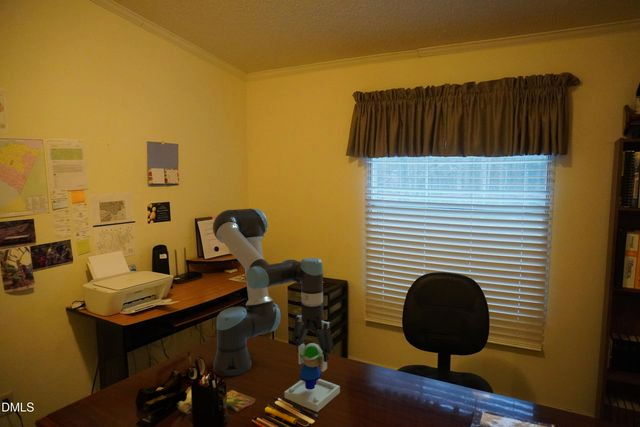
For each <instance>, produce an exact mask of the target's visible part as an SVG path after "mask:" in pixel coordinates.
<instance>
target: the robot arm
mask: <svg viewBox="0 0 640 427" xmlns="http://www.w3.org/2000/svg"><path fill="white" fill-rule="evenodd" d="M268 224H269V223H268V219H267V216H266V215H265V213H264V212H263V211H262V210H261V209H259V208H241V209H240V208H239V209H238V208H237V209H225V210H223V211H222V212H220V213H219V214H217V215H216V217H215V219H214V221H213V224H212V232H213V235H214V236H215V238H216V239H217V241H218V242H219V243H222V244H224V245H225V246H226V247H227V248H228V250H229V251H230V253H231V254H232V255H233V256H234V258H236V260H237V261H238V263H240V265H241V266H242V267H243V268H244V275H245V281H246V290H247V297H248V300H247V301H246V303H245V307H244V306H232V307H228V308H226V309H224V310H221V311H220V312H219V314H217V317H216V324H215V327H216V353H215V358H214V360H213V362H212V370H213V372H214V374H216V375H218V376H221V377H234V376H235V377H236V376H239V375H242V374H244V373H247V372H248V371H249V370H250V369H252V368H251V367H252V357H251V356H250V352H249V350H248V347H247V346H248V345H247V343H248V342H247V340H248V339H251V338H254V337H258V336H261V335H266V334H270V333H271V332H274V331H276V330H277V329H278V327H279V326H280V323H281V311H280V307H279V305H278V304H276V303H275V302H274V299H273V298H272V297H271V296H270V295H269V290H268V288H269V287H275V286H280V285H285V284H289V283H297V284H300V285H301V286H300V287H301V289H300V292H301V294H300V296H301V297H300V298H301V299H300V300H301V306H300V307H301V313H300V314H298V315H296V316H295V317H294V322H295V324H294V327H293V333H292V337H291V338H292V340H291V341H292V342H293V343H295V344H296V353H297V355H298V365H302V364H304V362H303V359H301V358H300V354H301V353H302V352H303V349H304V347H305V346H306V343H304V342H305V341H304V340H305V338H306V337H307V334H308V332H309V330H310V331H312V332H314V334H315V335H316V339H317V341H318V343H319V347H320V349H322V351H323V352H321V356H322V366H321V365H320V373H323V372H325V371H326V370H327V369H328V361H329V359H330V355H329V354H330V353H331V352H333V351H334V350H335V348H334V341H333V336H332V331H331V322H330V321H324V318H323V314H324V304H323V302H324V291H323V290H324V281H323V280H324V278H323V277H324V269H323V268H324V267H323V261H322V259H321V258H318V257H317V258H316V257H315V258H314V257H306V258H302V260H301V261H300V260H299V261H298V260H296V259H290V258H289V259H288V258H287V259H284V260H283V261H281V262H279V263H278V262H276V263H269V262H268V261H267V260H266V259H265V258H264V253H263V246H262V241H263V240H264V238H265V234H266V233H267V231H268V227H269V226H268ZM302 323H303V324H302Z"/></svg>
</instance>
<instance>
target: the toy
mask: <svg viewBox="0 0 640 427" xmlns="http://www.w3.org/2000/svg"><path fill="white" fill-rule="evenodd" d="M321 352H323V351H322V349H321V346H320V345H319V344H317V343H313V342H311V343H308V344H305V347H304V349H303V352H302V353H301V354H300V358H301V359H303V365H302V366H301V368H300V372H299V373H300V374H299V379H300V380H302V381H305V388H306V389H309V390H311V389H314V388H315V385H316V384H317V380H318V379H321V378H322V372H321V369H320V367H321V366H322V356H321ZM319 365H320V367H319Z"/></svg>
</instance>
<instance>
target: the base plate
mask: <svg viewBox="0 0 640 427" xmlns="http://www.w3.org/2000/svg"><path fill="white" fill-rule="evenodd" d="M340 393H341V386H340V385H338V384H335V383H333V382H329V381H327V380H324V379H321V378H320V379H318V380H317V384H316V385H315V388H314V389H311V390H309V389H306V388H305V381H302V380H301V379H300V380H299V381H297V382H296V383H295V384H293V385H292V386H291V387H289V388H288V389H286V390H285V391H284V399H286V400H288V401H290V402H293V403H296V404H297V405H299V406H301V407H304V408H306V409H309V410H312V411H314V412H317V413H318V412H319V411H321V410H322V409H323V408H324V407H325V406H326V405H327V404H329V403H330V402H331V401H332V400H333V399H334V398H336V396H338V395H339V394H340Z"/></svg>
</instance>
